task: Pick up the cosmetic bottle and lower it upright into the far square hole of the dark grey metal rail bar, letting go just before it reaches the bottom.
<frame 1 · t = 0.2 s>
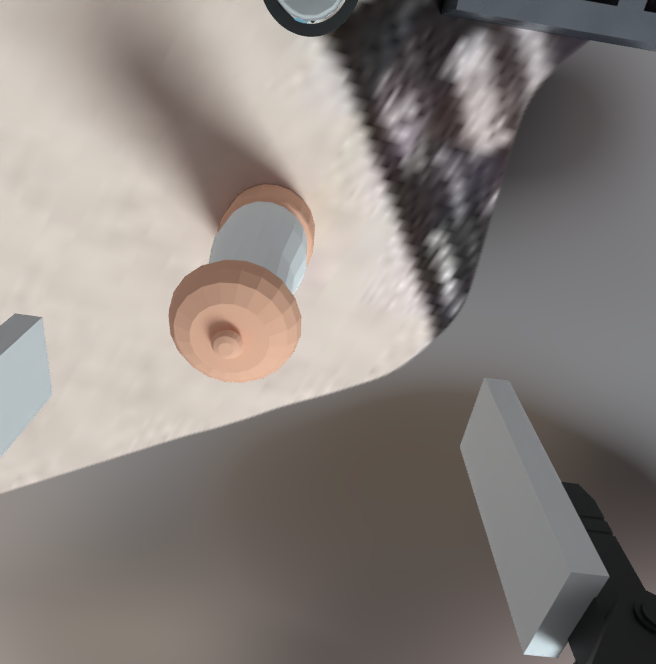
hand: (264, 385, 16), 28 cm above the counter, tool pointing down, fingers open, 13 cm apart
pepper shaker: (270, 228, 42), on the counter
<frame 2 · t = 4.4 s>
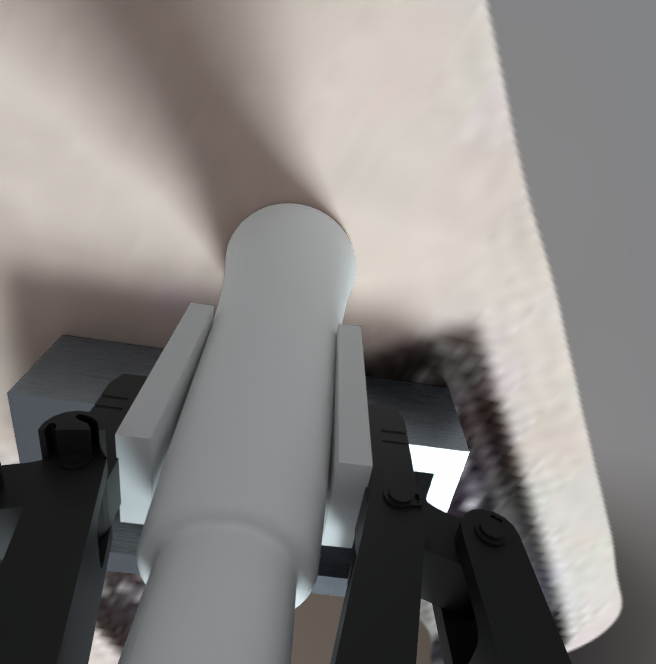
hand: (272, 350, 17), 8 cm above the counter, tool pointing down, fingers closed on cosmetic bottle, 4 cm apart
cosmetic bottle: (291, 264, 24), on the counter, touching gripper
square-hole rail: (251, 442, 29), on the counter
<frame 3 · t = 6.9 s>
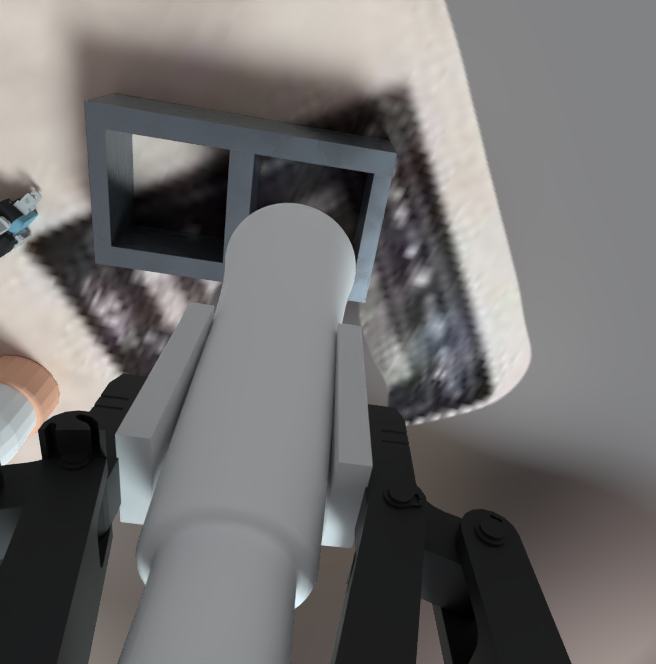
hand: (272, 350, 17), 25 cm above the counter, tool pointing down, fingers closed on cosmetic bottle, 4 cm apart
pepper shaker: (21, 385, 50), on the counter
cosmetic bottle: (291, 264, 24), point 17 cm above the counter, touching gripper
push button: (19, 218, 42), on the counter
square-hole rail: (248, 192, 40), on the counter
when the fingers open (9 cm above the counter, at t = 9.8 s): cosmetic bottle drops 1 cm, resting in square-hole rail.
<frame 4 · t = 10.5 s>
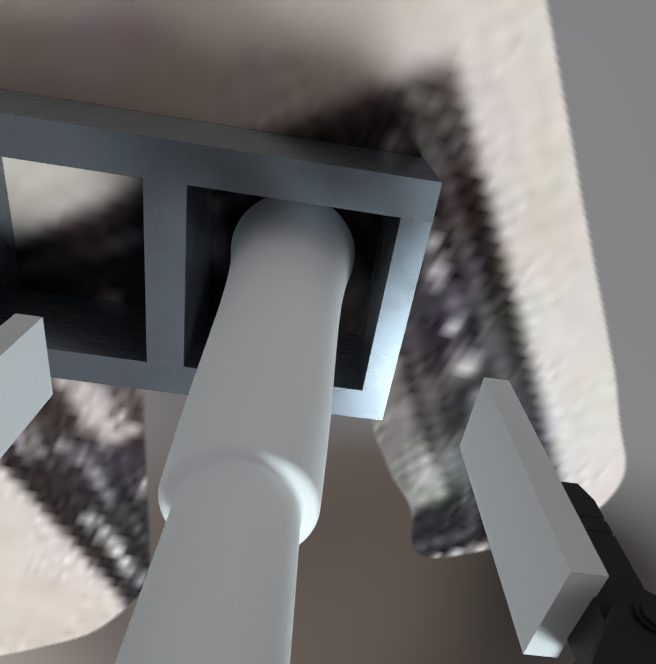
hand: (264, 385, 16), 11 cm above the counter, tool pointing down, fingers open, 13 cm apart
cosmetic bottle: (293, 252, 26), resting in square-hole rail
square-hole rail: (194, 240, 25), on the counter
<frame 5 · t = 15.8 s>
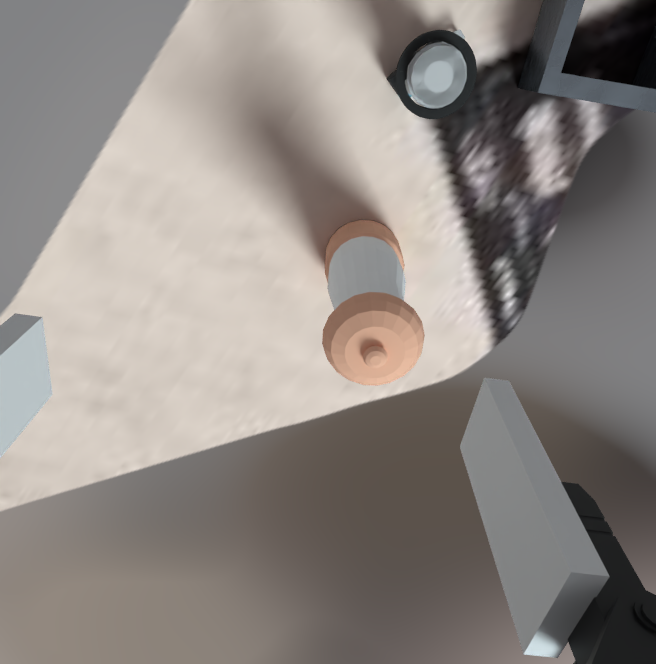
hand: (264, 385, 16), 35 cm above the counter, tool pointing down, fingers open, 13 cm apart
pepper shaker: (362, 255, 50), on the counter
push button: (424, 64, 42), on the counter
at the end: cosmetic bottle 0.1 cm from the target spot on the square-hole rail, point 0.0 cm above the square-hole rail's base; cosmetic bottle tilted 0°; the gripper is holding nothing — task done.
